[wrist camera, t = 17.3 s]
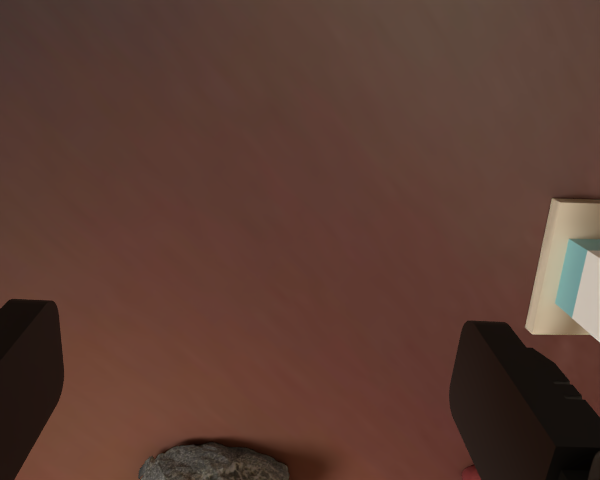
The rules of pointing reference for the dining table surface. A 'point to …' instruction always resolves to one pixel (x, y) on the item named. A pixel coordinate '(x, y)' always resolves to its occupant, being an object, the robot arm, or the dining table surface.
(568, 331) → the peg socket fixture
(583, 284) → the sleeve
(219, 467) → the rock
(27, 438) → the robot arm
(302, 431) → the dining table surface
